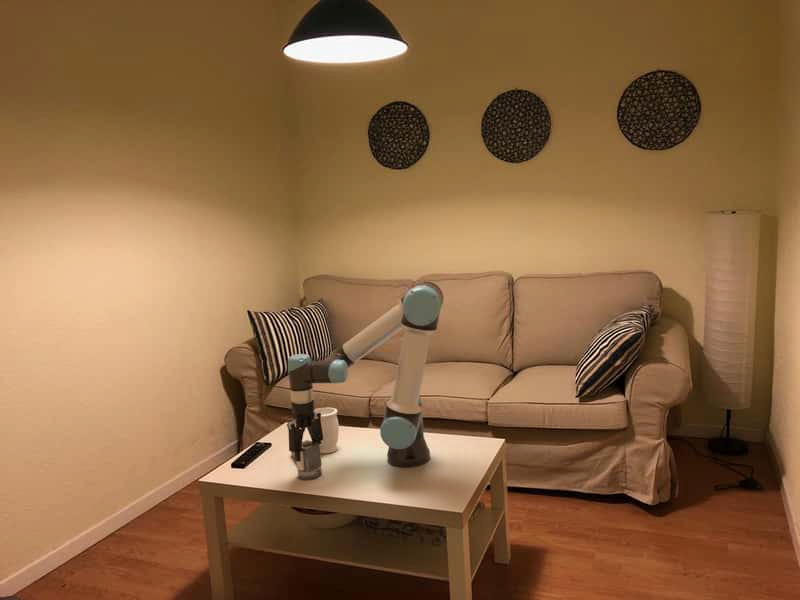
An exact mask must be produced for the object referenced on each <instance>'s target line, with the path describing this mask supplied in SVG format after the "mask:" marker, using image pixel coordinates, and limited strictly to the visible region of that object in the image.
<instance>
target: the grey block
mask: <svg viewBox="0 0 800 600" xmlns="http://www.w3.org/2000/svg"><path fill="white" fill-rule="evenodd" d="M301 451H303V458H304V469H305V470H304V471H308V472H310V471H311V470H313V469H315V468H317V467H319V466H321V467H322V464H323V463H322V455H321V453H320V447H319V443H317V442H313V441H312V440H309V439H306V440H304V441H302V446H301ZM295 464H296V465H295V466H296V467H297V461H296V462H295Z"/></svg>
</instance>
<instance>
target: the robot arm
mask: <svg viewBox="0 0 800 600" xmlns="http://www.w3.org/2000/svg"><path fill="white" fill-rule="evenodd" d="M443 304H444V295H443V291H442V289H441V288H440V287H439V286H438V285H437V284H436V283H434V282H431V281H426V280H425V281H420V282H418V283H416V284H415V285H413V286H412V287H411V289H409V290H408V292H407V293H406V294H404V295H403V296H402V297H401V298H400V299H399V303H398V304H397V305H395V306H394V307H392V308H391V309H389V310H388V311H386V312H385V313H384V314H383V315H382V316H380V317H379V318H378V319H376V320H375V321H374V322H371V323H370V324H369V325H368V326H366V327H365V328H364V329H362V330H361V331H360V332H359V333H357V334H356V335H354V336H353V337H351V338H350V339H349V340H348V341H346V342H345V343H343V344H342V345H341V346H339V347H338V348H337V349H334V350H333V351H331V353H330V354H329V355H328V356H327V357H326V358H325V360H311V356H310V355H309V354H305V353H299V354H292V355H291V356H289V357H288V359H287V372H288V373H287V374H288V380H289V381H288V382H289V392H290V401H291V411H292V414H293V419H292V421H291V422H287V423H286V427H287V431H288V450H289V452H290V453H291V452H294V453H295V460H296V461H297V466H296V469H297V470H298V469H299V470H302V471H303V470H305V469H304V458H303V451H301V446H302V442H303V440H304V439H303V438H304V434H305V431H306V429H307V430H308V434H309V437H310V440H311V441H313V442H317V443H319V444H321V440H323V433H322V426H321V413H317V412H314V410H315V409H316V407H315V400H314V397H315V396H314V390H313V389H314V387H313V384H340V383H345V382H346V381H347V379H348V375H349V372H348V371H349V370H348V369H349V368H350V367H351V366H353V365H354V364H355V363H357V362H359V361H360V360H361V359H362V358H364V357H365V356H366V355H368V354H369V353H371V352H372V351H374V350H375V349H376V348H377V347H379V346H380V345H382V344H383V343H384V342H386V341H387V340H388V339H390V338H392V337H393V336H394V335H395V334H397V333H399V332H400V331H401V330H403V329H404V331H403V337H402V342H401V349H400V353H399V359H398V363H397V364H398V365H397V368H396V369H397V371H396V376H395V381H394V386H393V392H392V396H390V397H388V399H387V402H386V403H385V404H386V406H385V410H384V416H383V421H382V423H381V425H380V430H379V431H380V432H379V433H380V438H381V440H382V441H383V443H384V444H385V445H386V446H388V449H387V455H386V458H387V463H388V464H390V465H391V466H393V467H394V466H395V467H399V468H400V467H401V468H411V467H417V466H421V465H423V464H426V463H428V462H429V461H430V460H431V452H430V448H429V447H428V445H427V444H428V443H427V442H426V439H425V436H424V435H425V434H424V423H423V422H424V420H423V409H422V407H423V406H422V405H423V403H422V399H421V396H420V394H421V388H422V384H423V379H424V378H423V377H424V372H425V366H426V361H427V356H428V352H429V346H430V341H431V335H432V334H433V333H434V332H436V331H437V329H438V323H439V318H440V314H441V309H442V307H443ZM295 460H294V461H295Z"/></svg>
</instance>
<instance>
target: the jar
mask: <svg viewBox="0 0 800 600" xmlns="http://www.w3.org/2000/svg"><path fill="white" fill-rule="evenodd" d="M314 412H317V413H321V426H322V433H323V440H321V444H319V447H320V455H321V454H325V455H326V454H331V453H334V452H336V451H337V450H338V449H339V447H338V445H337V443H338V440H339V434H340V433H339V431H340V427H339V426H340V425H339V419H338V416H337V414H338V409H337V408H336V407H335V408H334V407H319V408H315V410H314Z"/></svg>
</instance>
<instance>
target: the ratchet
mask: <svg viewBox="0 0 800 600" xmlns="http://www.w3.org/2000/svg"><path fill="white" fill-rule="evenodd" d="M290 453H291V457H292V459H293V460H294V462H295V463H296V460H295V453H294V452H291V451H290ZM322 472H323V471H322V465H321V466H319V467H317V468H315V469H313V470H311V471H310V472H308V471H304V470H303V471H302V470H299V469H297V477H298V479H299V480H301V481H306V482H307V481H313V480H317V479H319V478H320V477H322V475H323V474H322Z"/></svg>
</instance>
